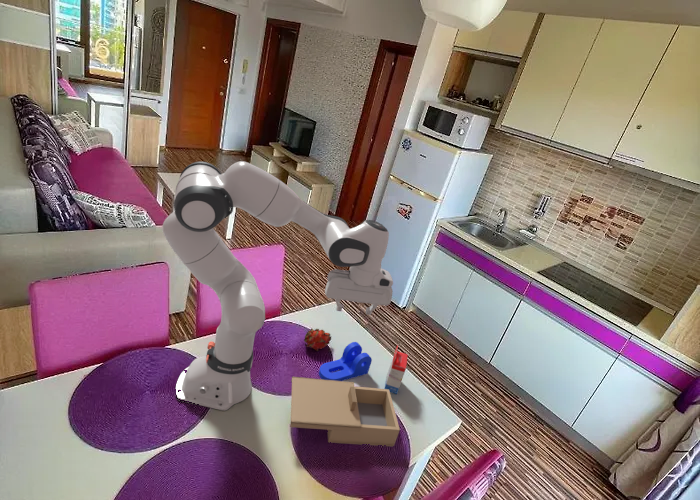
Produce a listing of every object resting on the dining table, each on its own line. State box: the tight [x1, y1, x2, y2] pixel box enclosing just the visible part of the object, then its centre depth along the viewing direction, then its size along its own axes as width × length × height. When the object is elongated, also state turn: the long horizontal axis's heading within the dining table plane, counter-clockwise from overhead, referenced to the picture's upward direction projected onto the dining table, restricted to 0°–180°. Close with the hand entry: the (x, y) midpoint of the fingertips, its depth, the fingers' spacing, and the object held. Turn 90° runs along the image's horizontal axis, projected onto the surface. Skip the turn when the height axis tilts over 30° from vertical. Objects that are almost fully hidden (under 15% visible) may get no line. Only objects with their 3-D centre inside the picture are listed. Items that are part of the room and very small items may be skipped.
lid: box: [289, 376, 361, 432], centre depth 120 cm, size 20×18×5 cm
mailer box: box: [327, 385, 400, 447], centre depth 124 cm, size 20×16×7 cm
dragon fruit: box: [303, 328, 332, 352], centre depth 153 cm, size 8×8×12 cm
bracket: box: [318, 341, 373, 381], centre depth 143 cm, size 18×8×9 cm, turn 124°
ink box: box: [384, 344, 409, 395], centre depth 142 cm, size 8×5×15 cm, turn 168°
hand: (353, 312), depth 125 cm, fingers open, 8 cm apart
